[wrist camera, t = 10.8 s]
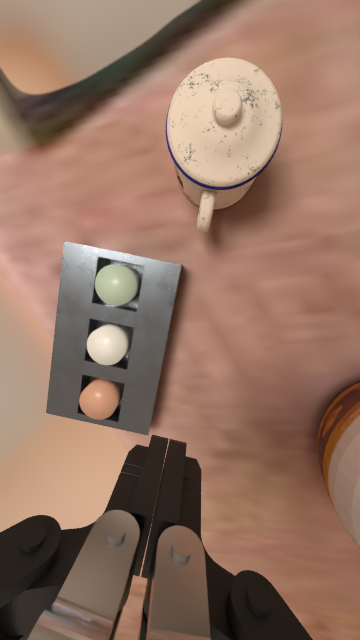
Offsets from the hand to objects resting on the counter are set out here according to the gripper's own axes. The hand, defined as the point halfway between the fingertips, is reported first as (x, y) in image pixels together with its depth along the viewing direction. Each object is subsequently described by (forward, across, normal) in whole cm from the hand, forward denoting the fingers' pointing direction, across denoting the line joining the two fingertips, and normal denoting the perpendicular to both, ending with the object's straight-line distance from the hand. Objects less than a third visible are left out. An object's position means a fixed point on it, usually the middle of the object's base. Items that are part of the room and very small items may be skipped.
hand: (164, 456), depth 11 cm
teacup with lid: (+22, +1, -17) cm, 28 cm away
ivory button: (+21, +9, +3) cm, 23 cm away
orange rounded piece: (+21, +9, +10) cm, 25 cm away
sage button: (+21, +9, -4) cm, 23 cm away
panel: (+22, +9, +3) cm, 24 cm away
